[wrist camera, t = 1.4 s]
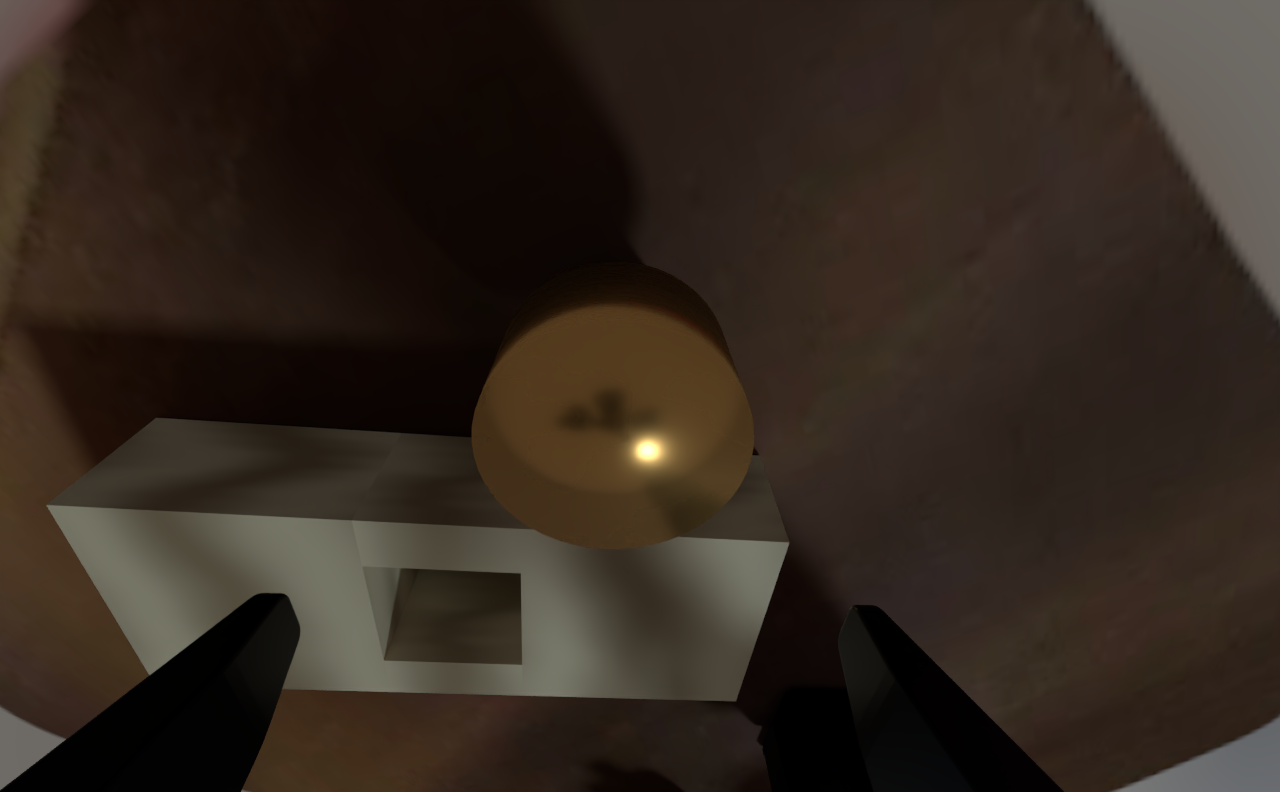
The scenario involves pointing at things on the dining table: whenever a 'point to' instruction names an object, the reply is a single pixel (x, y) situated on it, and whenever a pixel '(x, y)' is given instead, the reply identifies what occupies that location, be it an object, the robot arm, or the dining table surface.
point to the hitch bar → (412, 567)
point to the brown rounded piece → (613, 410)
